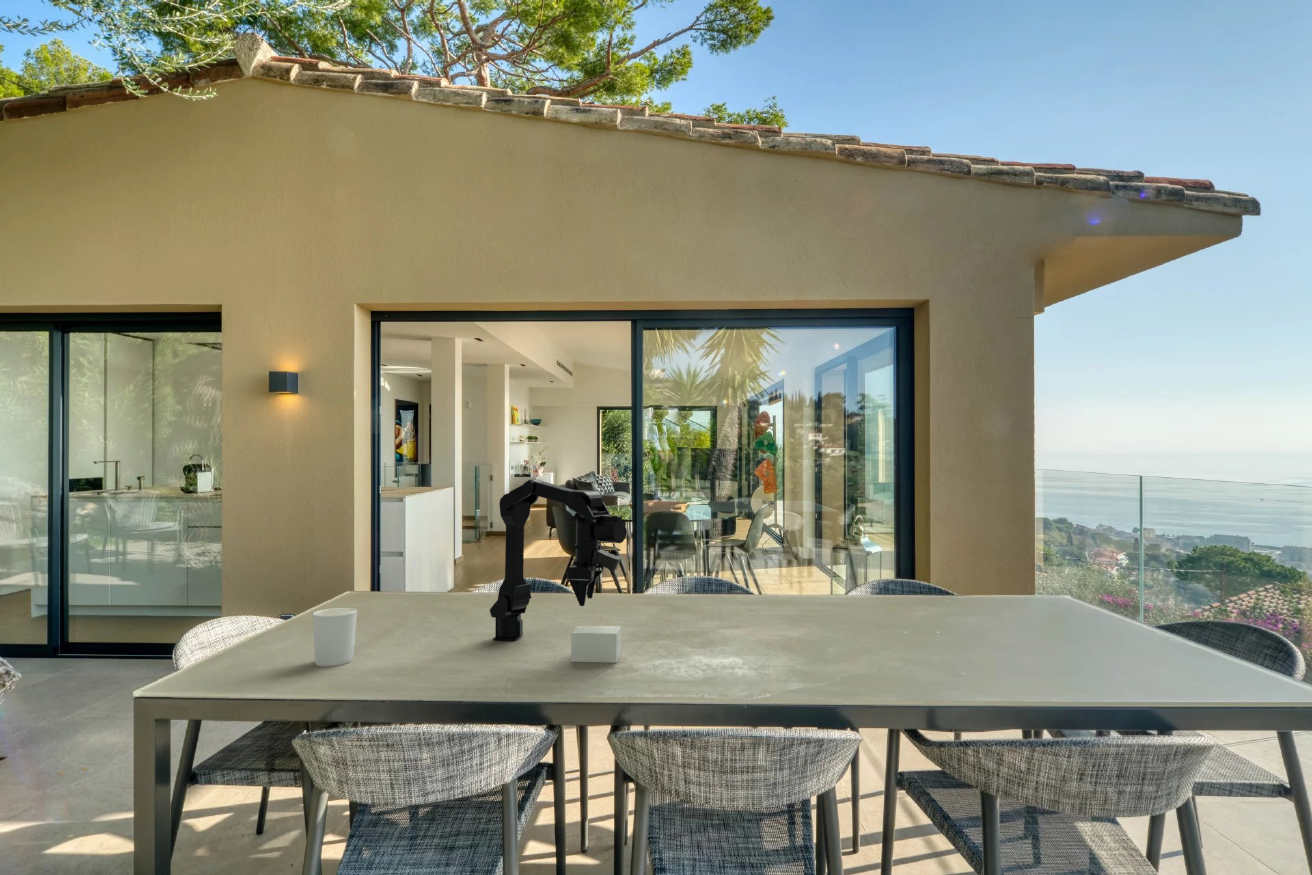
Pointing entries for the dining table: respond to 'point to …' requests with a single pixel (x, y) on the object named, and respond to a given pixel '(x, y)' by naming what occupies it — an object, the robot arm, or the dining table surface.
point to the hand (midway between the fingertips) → (586, 601)
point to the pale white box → (596, 644)
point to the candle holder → (334, 636)
